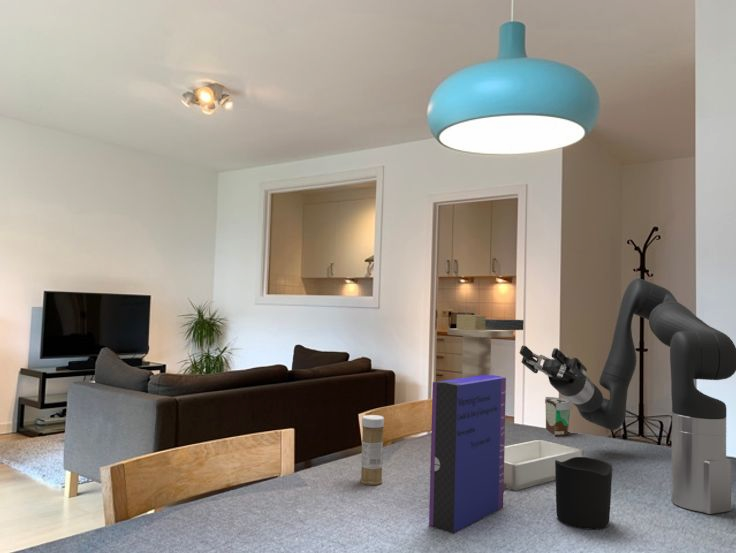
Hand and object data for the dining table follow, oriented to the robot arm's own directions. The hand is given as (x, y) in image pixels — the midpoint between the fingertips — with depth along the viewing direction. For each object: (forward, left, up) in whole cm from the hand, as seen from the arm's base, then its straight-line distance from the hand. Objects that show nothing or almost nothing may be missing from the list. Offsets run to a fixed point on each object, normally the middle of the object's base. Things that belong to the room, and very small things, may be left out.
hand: (537, 350), depth 136 cm
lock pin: (-4, +14, +5) cm, 15 cm away
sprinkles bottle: (+4, +39, -28) cm, 48 cm away
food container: (+31, -35, -28) cm, 55 cm away
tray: (-1, +3, -27) cm, 27 cm away
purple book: (-19, +31, -28) cm, 45 cm away
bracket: (-5, +20, -27) cm, 34 cm away
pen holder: (-28, +13, -28) cm, 41 cm away
